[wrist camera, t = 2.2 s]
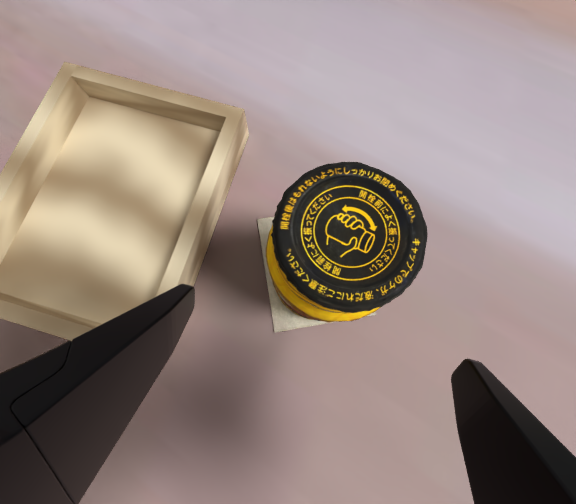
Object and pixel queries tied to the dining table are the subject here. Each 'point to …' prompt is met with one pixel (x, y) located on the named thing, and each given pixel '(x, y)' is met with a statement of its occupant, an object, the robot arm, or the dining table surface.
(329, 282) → the condiment
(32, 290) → the tray
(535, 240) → the dining table surface
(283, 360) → the dining table surface
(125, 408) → the robot arm
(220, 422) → the dining table surface
